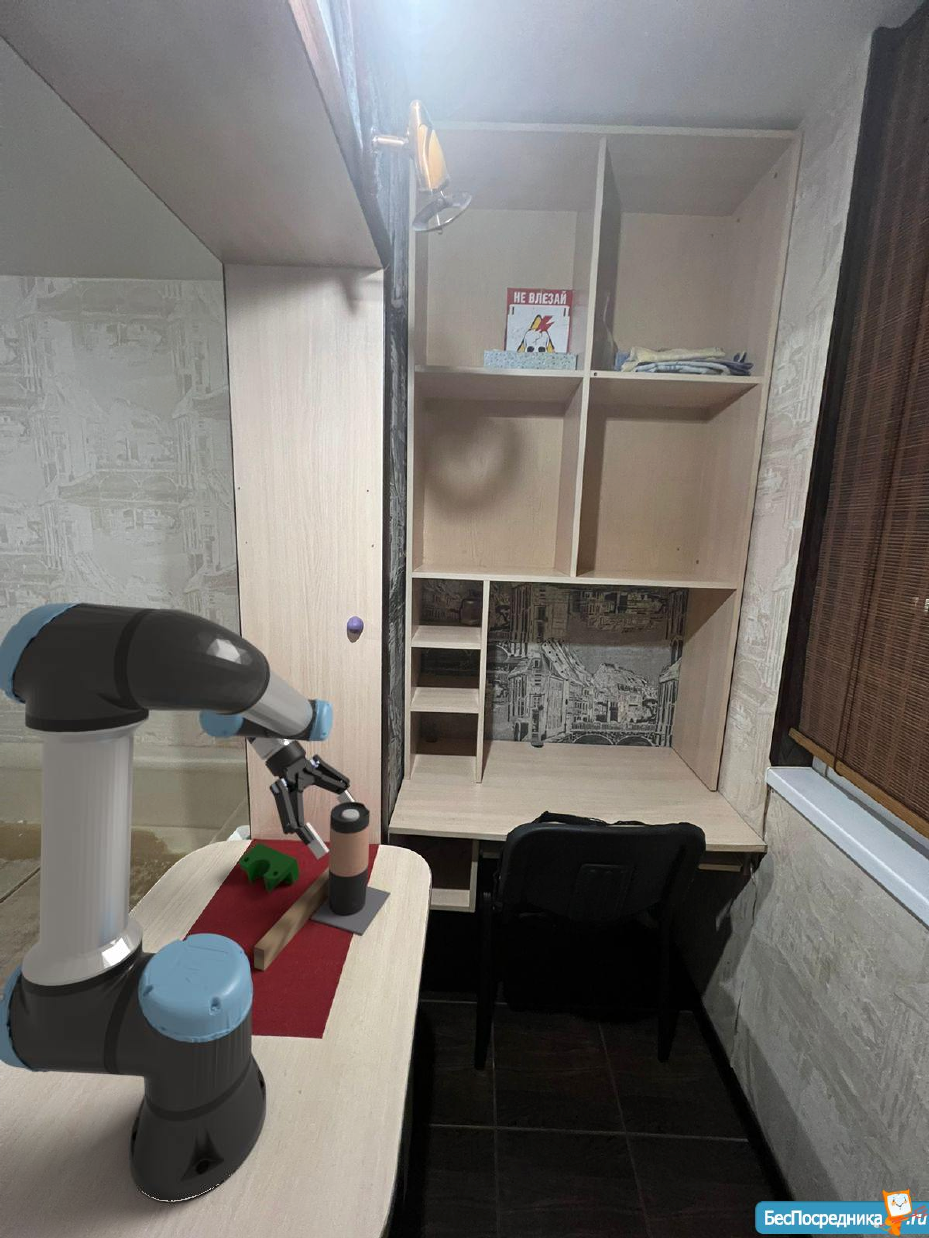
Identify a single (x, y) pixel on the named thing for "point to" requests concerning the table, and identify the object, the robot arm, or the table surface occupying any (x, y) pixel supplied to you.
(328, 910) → the end mat
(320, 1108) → the table surface
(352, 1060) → the table surface
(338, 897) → the travel mug
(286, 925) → the rail
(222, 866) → the table surface
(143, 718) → the robot arm
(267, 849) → the clamp
